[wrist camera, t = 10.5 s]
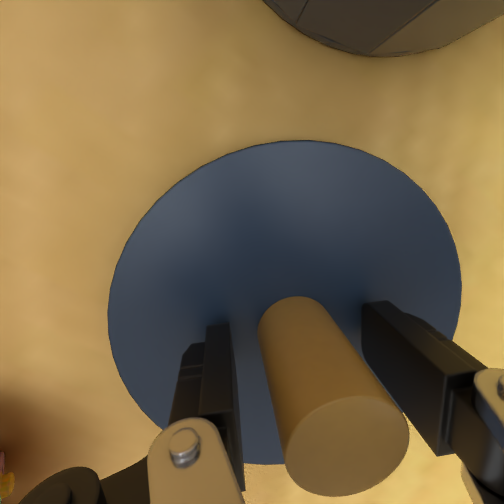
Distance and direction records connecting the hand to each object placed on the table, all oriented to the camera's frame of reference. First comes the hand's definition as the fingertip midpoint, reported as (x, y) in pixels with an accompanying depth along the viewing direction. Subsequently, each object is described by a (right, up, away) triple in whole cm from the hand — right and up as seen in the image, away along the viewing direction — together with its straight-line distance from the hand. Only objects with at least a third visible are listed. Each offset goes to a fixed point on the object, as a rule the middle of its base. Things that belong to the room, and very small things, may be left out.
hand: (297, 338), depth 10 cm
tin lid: (0, 0, +1) cm, 1 cm away
